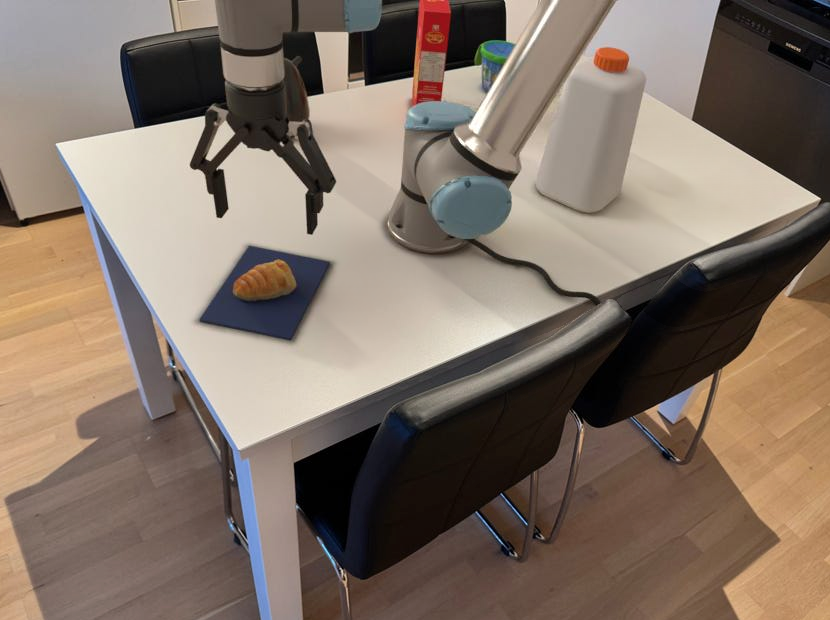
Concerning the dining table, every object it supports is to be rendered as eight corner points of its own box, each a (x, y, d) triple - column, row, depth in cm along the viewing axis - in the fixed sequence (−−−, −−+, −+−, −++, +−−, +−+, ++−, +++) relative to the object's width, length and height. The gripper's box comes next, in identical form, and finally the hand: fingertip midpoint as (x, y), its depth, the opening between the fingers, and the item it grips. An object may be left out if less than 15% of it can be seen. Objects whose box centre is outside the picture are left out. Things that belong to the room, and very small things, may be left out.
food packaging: (411, 100, 172) (420, -14, 155) (434, 102, 173) (445, -12, 156) (413, 129, 162) (424, 10, 145) (437, 131, 162) (450, 13, 145)
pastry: (246, 311, 112) (244, 291, 109) (225, 287, 115) (222, 268, 113) (300, 291, 117) (299, 271, 114) (278, 269, 120) (277, 250, 118)
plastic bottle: (562, 164, 158) (594, 30, 139) (625, 191, 152) (668, 55, 133) (526, 190, 148) (555, 50, 129) (592, 220, 143) (633, 78, 124)
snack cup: (533, 99, 180) (541, 58, 173) (499, 107, 175) (506, 64, 168) (494, 74, 189) (500, 33, 182) (461, 80, 184) (466, 39, 177)
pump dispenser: (320, 131, 157) (320, 59, 146) (287, 148, 150) (284, 74, 139) (283, 115, 160) (281, 43, 150) (249, 131, 153) (244, 57, 143)
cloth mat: (329, 263, 124) (329, 261, 123) (290, 340, 109) (290, 338, 109) (249, 247, 124) (249, 245, 124) (199, 321, 110) (199, 319, 109)
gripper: (358, 83, 96) (356, 222, 110) (173, 52, 97) (196, 193, 112) (342, 107, 90) (343, 250, 105) (147, 74, 92) (174, 220, 106)
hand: (267, 221), depth 108 cm, fingers open, 13 cm apart
